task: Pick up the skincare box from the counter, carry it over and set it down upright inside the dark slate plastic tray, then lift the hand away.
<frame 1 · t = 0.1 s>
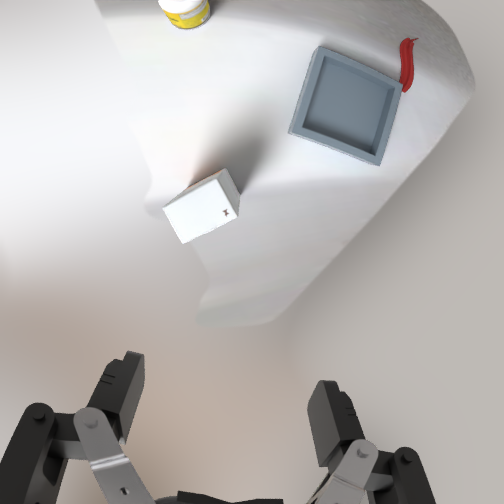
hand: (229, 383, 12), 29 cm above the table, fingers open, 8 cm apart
skincare box: (212, 191, 38), on the table
cayenne pepper: (404, 63, 32), on the table
supplement bottle: (190, 15, 29), on the table
tray: (344, 107, 35), on the table
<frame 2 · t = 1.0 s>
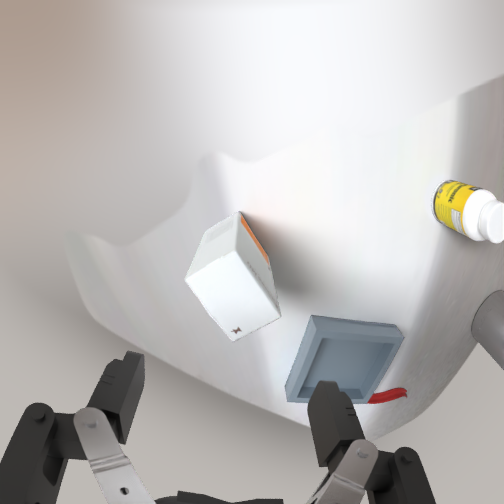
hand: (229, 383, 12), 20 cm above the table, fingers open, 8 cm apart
skincare box: (237, 242, 31), on the table
cayenne pepper: (382, 392, 41), on the table
supplement bottle: (445, 200, 30), on the table
tray: (339, 357, 37), on the table
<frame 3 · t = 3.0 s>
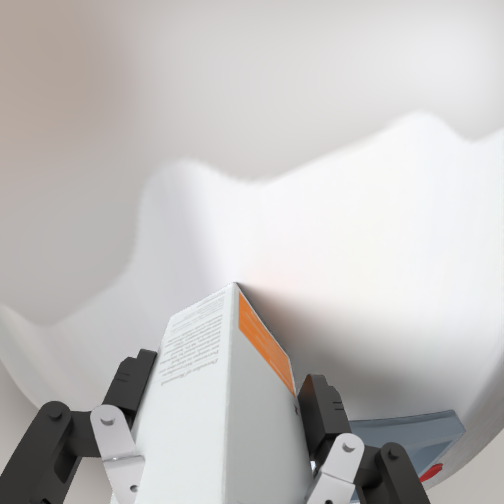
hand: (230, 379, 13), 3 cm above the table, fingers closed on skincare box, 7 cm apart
skincare box: (232, 334, 16), on the table, touching gripper
cayenne pepper: (414, 471, 26), on the table
tray: (376, 454, 22), on the table
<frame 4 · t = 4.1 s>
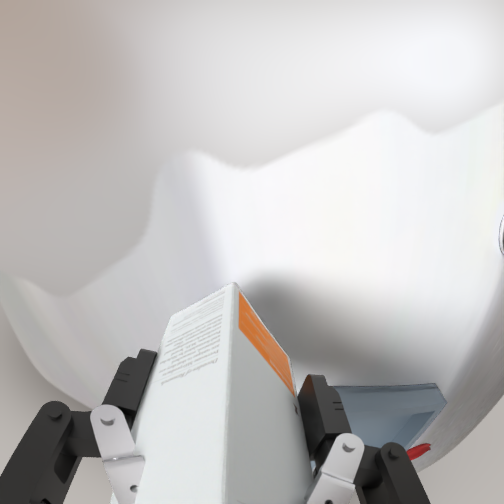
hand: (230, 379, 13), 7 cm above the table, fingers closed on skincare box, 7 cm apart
skincare box: (232, 334, 16), point 3 cm above the table, touching gripper
cayenne pepper: (402, 450, 30), on the table
tray: (363, 425, 25), on the table
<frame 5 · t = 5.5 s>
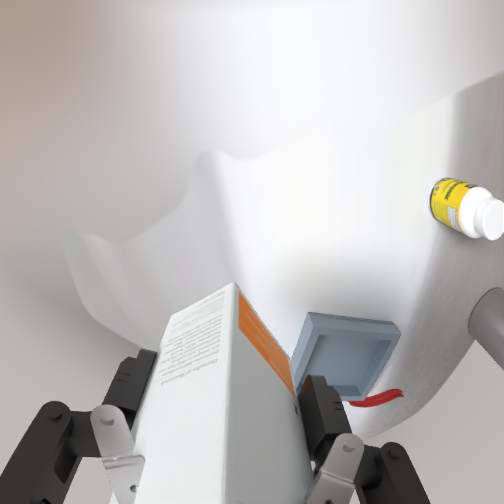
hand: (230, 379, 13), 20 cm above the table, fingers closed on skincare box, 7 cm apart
skincare box: (232, 334, 16), point 16 cm above the table, touching gripper
cayenne pepper: (377, 394, 42), on the table
supplement bottle: (441, 198, 30), on the table
tray: (337, 354, 37), on the table
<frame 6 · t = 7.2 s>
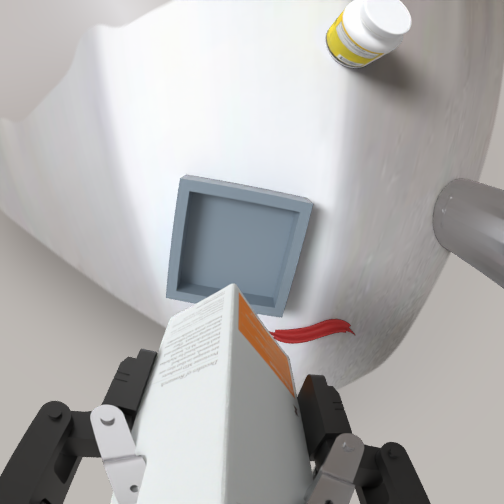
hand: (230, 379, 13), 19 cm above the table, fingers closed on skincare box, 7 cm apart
skincare box: (232, 335, 16), point 16 cm above the table, touching gripper
cayenne pepper: (313, 327, 36), on the table
supplement bottle: (348, 46, 24), on the table
tray: (235, 243, 31), on the table
when the fingers open (6 cm above the table, at t = 10.2 s): skincare box drops 2 cm, resting on tray.
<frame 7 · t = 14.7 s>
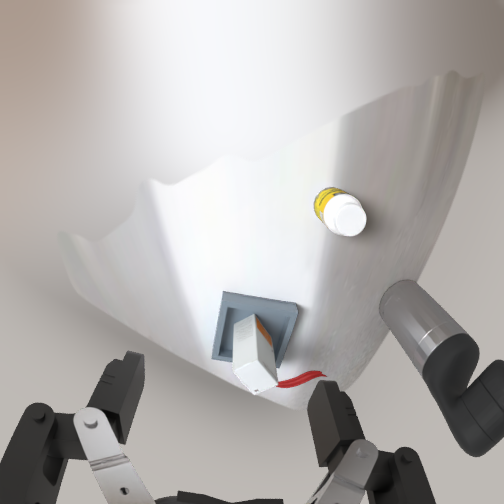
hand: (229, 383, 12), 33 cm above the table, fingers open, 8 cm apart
skincare box: (252, 329, 50), point 1 cm above the table, touching tray
cayenne pepper: (299, 376, 56), on the table
supplement bottle: (329, 203, 44), on the table
tray: (252, 327, 50), on the table
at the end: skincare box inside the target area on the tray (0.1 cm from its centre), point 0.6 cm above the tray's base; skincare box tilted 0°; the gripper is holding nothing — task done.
